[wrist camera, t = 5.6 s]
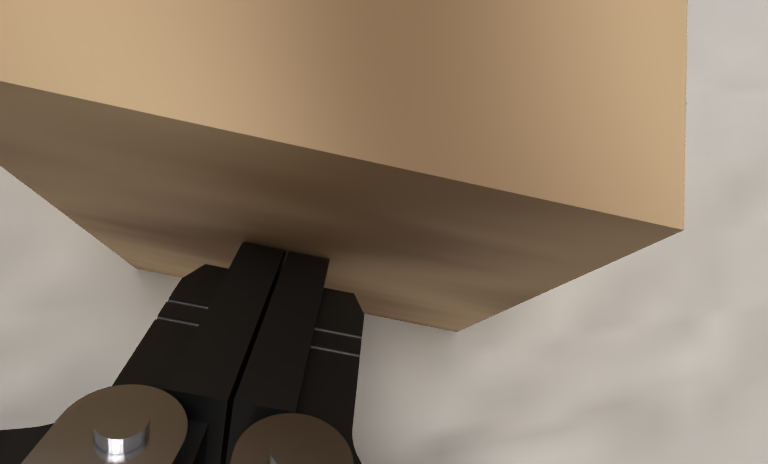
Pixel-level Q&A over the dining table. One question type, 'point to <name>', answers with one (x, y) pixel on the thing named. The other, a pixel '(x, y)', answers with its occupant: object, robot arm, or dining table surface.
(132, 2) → the oak block
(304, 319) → the robot arm
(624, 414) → the dining table surface
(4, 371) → the dining table surface
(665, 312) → the dining table surface
